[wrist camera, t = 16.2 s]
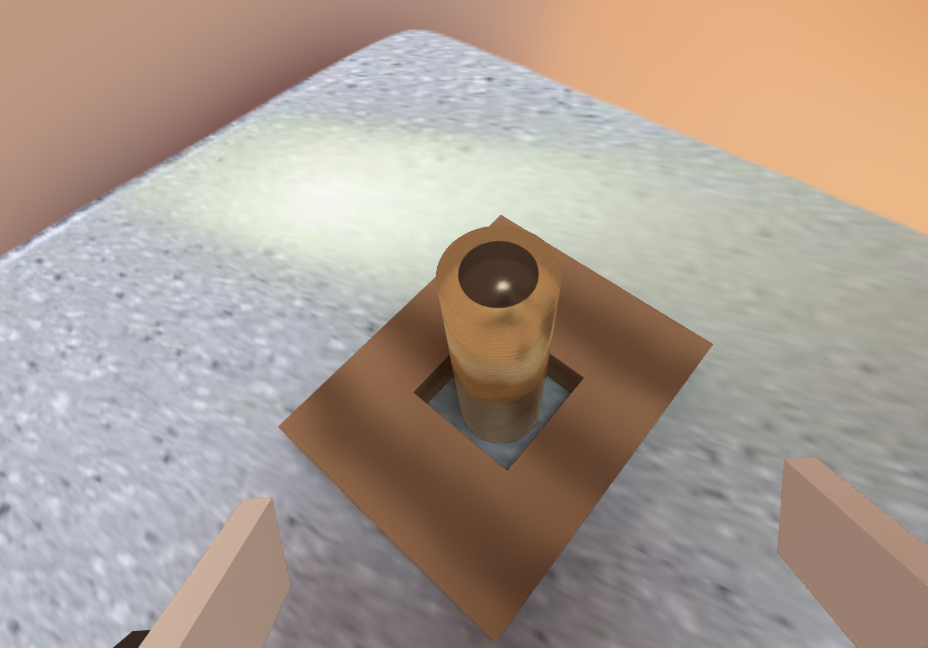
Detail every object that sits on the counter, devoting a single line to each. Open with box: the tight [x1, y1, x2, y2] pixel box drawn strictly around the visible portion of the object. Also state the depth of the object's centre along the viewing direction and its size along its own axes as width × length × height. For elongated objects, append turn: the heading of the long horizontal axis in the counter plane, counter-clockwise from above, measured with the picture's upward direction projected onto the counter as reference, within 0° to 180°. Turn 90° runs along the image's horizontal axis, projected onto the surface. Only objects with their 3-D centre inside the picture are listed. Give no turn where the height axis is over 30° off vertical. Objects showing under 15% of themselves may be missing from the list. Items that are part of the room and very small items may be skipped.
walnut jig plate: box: [278, 215, 713, 643], centre depth 32 cm, size 20×16×3 cm
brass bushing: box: [436, 226, 562, 443], centre depth 27 cm, size 5×5×14 cm
